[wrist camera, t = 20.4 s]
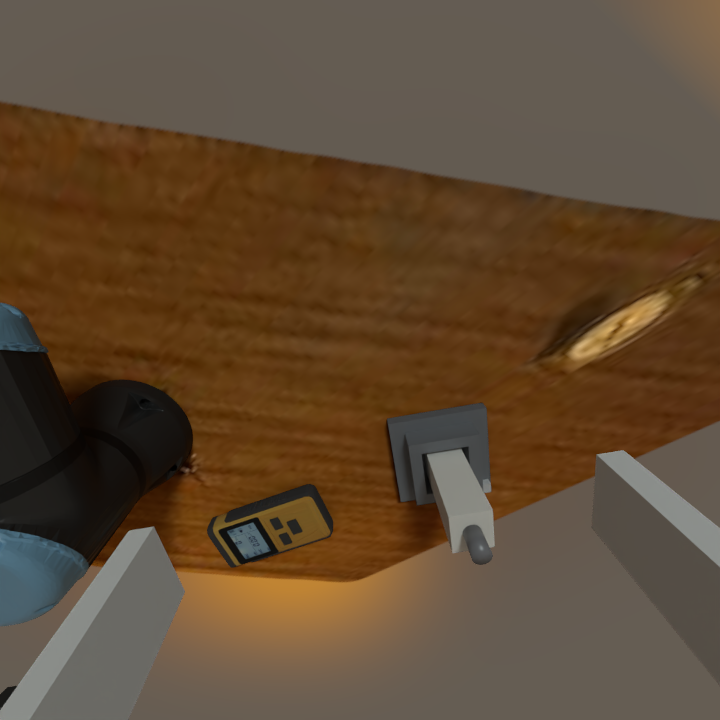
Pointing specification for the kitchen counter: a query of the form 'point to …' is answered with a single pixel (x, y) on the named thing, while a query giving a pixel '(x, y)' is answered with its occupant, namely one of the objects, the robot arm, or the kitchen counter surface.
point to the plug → (461, 504)
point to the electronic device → (271, 526)
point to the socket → (438, 446)
